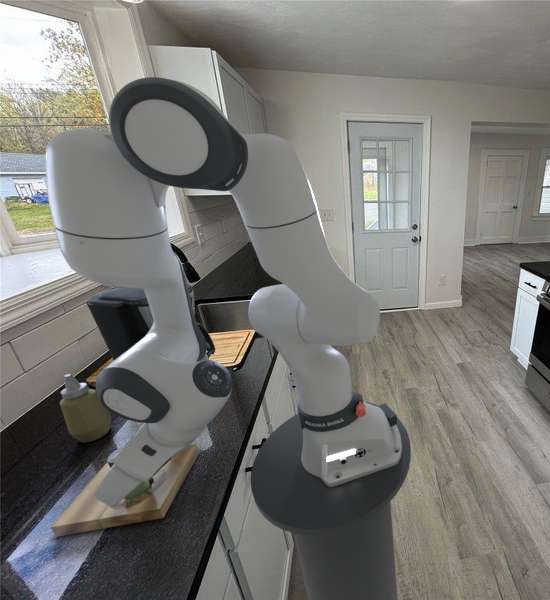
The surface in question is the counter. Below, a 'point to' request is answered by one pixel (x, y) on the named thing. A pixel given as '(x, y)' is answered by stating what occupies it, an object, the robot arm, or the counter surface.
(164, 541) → the counter surface
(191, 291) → the coffee maker
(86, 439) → the squeeze bottle
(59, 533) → the wooden board with hole
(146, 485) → the green cylinder
